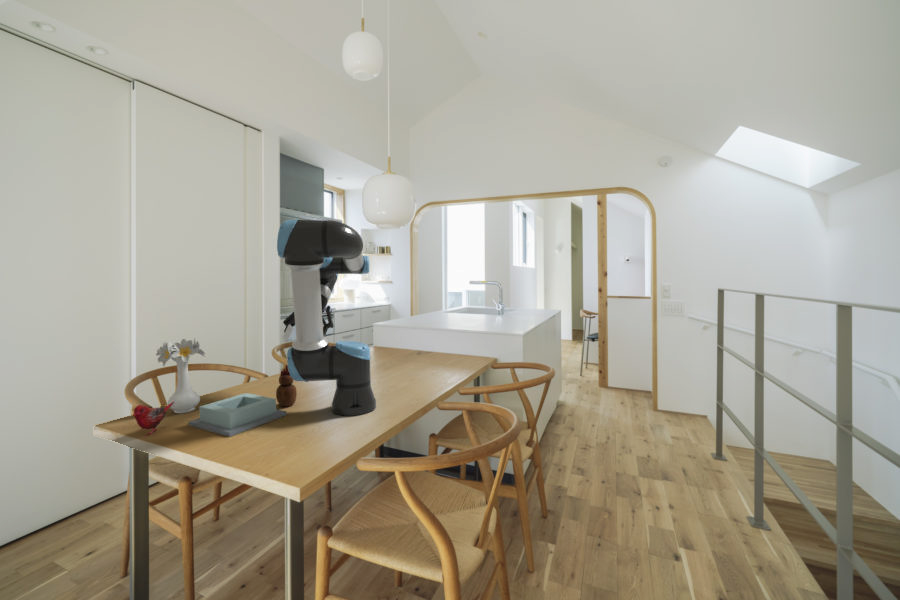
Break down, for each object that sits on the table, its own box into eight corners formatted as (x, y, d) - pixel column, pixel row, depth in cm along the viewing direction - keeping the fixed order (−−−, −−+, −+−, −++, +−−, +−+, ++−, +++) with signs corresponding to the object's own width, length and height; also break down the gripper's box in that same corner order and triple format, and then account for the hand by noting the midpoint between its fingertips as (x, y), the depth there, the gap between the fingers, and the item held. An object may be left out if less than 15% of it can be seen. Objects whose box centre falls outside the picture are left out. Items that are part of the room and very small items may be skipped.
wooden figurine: (300, 403, 143) (299, 363, 142) (288, 408, 137) (287, 366, 136) (285, 401, 145) (283, 361, 144) (273, 406, 140) (272, 365, 139)
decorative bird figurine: (129, 443, 109) (127, 408, 108) (170, 420, 127) (168, 389, 126) (140, 443, 109) (138, 408, 109) (179, 420, 127) (178, 389, 126)
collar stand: (286, 414, 131) (286, 398, 131) (229, 436, 113) (229, 417, 113) (247, 406, 140) (246, 390, 140) (188, 425, 122) (187, 407, 122)
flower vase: (182, 402, 145) (179, 334, 144) (218, 408, 139) (215, 337, 137) (144, 413, 133) (140, 340, 132) (181, 420, 126) (177, 343, 125)
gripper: (350, 304, 163) (335, 347, 150) (295, 303, 167) (275, 345, 154) (344, 292, 158) (328, 336, 144) (287, 291, 162) (266, 334, 148)
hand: (301, 341), depth 149 cm, fingers open, 13 cm apart
